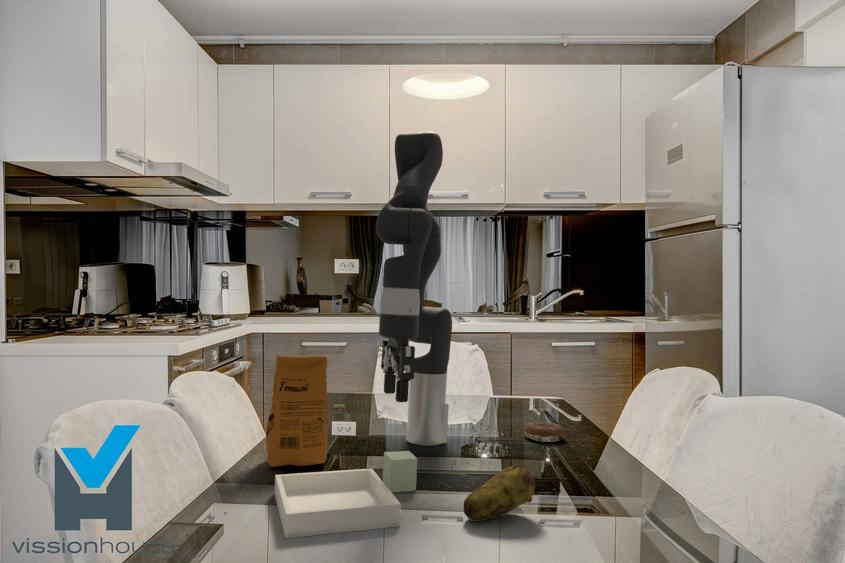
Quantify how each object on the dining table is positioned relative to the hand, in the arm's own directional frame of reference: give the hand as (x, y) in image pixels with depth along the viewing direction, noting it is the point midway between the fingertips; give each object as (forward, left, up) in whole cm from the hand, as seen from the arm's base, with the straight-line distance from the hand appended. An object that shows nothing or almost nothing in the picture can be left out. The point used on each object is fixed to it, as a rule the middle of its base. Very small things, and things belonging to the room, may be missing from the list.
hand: (395, 397), depth 105 cm
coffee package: (+16, -16, -16) cm, 28 cm away
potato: (-13, +18, -17) cm, 28 cm away
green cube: (-1, +1, -17) cm, 17 cm away
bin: (+13, +9, -17) cm, 23 cm away
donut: (-49, -25, -17) cm, 58 cm away
